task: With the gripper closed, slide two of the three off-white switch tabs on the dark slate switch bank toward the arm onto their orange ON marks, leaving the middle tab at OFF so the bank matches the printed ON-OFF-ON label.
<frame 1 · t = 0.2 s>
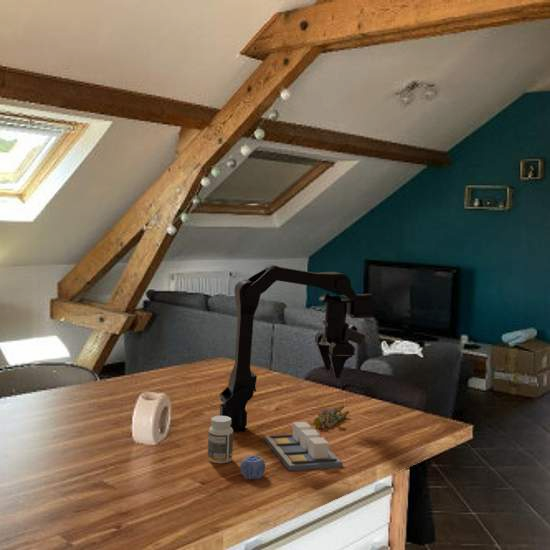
hand: (332, 374, 189), 14 cm above the kitchen island countertop, fingers open, 9 cm apart
dip bank: (301, 452, 167), on the kitchen island countertop
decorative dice: (252, 477, 151), on the kitchen island countertop
tab 2: (309, 439, 167), point 3 cm above the kitchen island countertop, slide at 0.0 cm
toy: (331, 423, 192), on the kitchen island countertop
tab 3: (301, 431, 173), point 3 cm above the kitchen island countertop, slide at 0.0 cm
tab 1: (318, 448, 161), point 3 cm above the kitchen island countertop, slide at 0.0 cm
pill bottle: (220, 460, 160), on the kitchen island countertop
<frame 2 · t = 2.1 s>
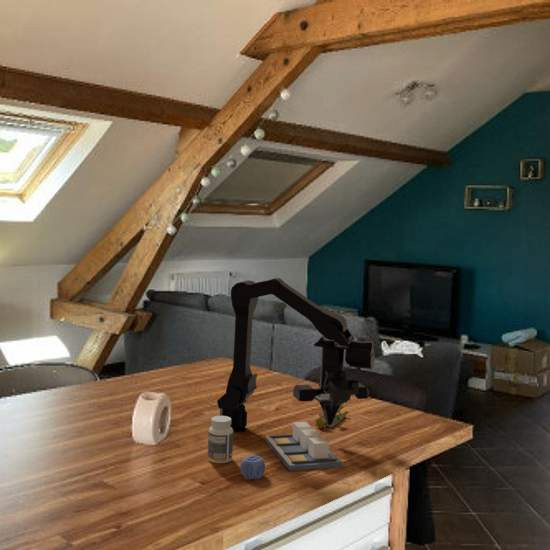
hand: (329, 424, 175), 5 cm above the kitchen island countertop, fingers closed
nothing on the kitchen island countertop moved.
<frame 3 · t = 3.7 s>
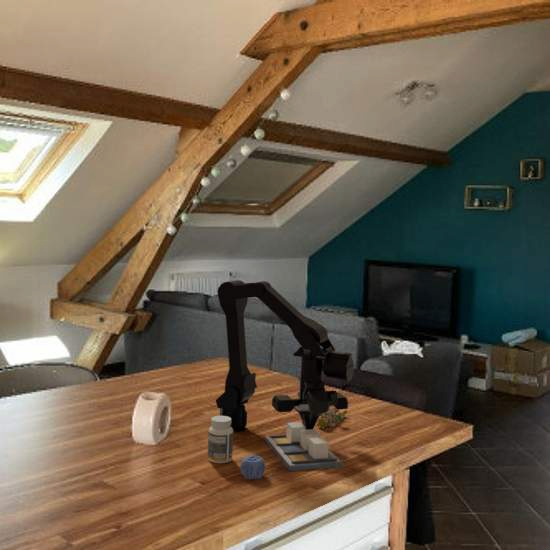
hand: (308, 435, 174), 2 cm above the kitchen island countertop, fingers closed
tab 3: (295, 432, 172), point 3 cm above the kitchen island countertop, slide at 1.6 cm, touching gripper
everything else where it was.
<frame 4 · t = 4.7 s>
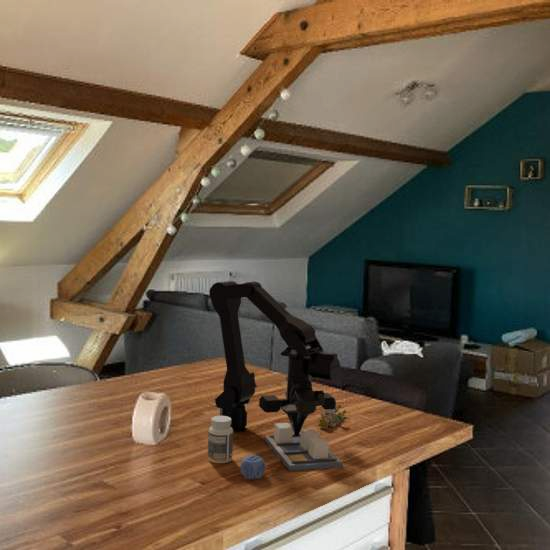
hand: (296, 435, 172), 2 cm above the kitchen island countertop, fingers closed
tab 3: (283, 432, 171), point 3 cm above the kitchen island countertop, slide at 4.9 cm, touching gripper
everything else where it was.
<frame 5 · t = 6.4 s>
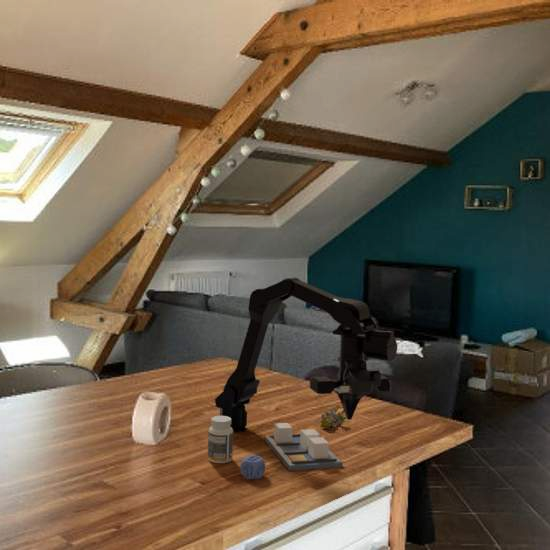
hand: (348, 419, 163), 10 cm above the kitchen island countertop, fingers closed
tab 3: (283, 432, 171), point 3 cm above the kitchen island countertop, slide at 4.9 cm
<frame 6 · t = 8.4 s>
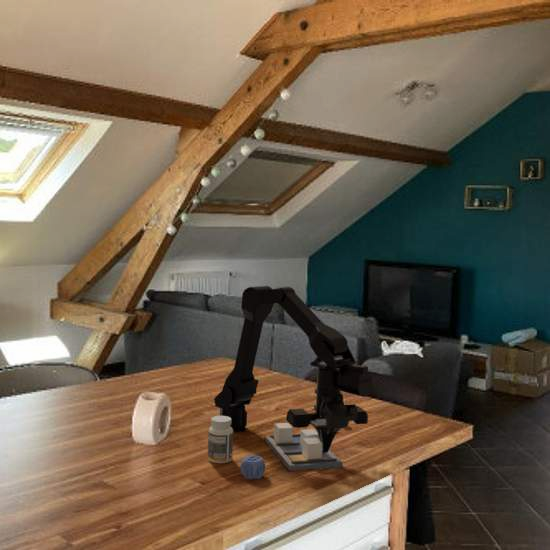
hand: (325, 451, 162), 2 cm above the kitchen island countertop, fingers closed
tab 1: (312, 448, 161), point 3 cm above the kitchen island countertop, slide at 1.6 cm, touching gripper
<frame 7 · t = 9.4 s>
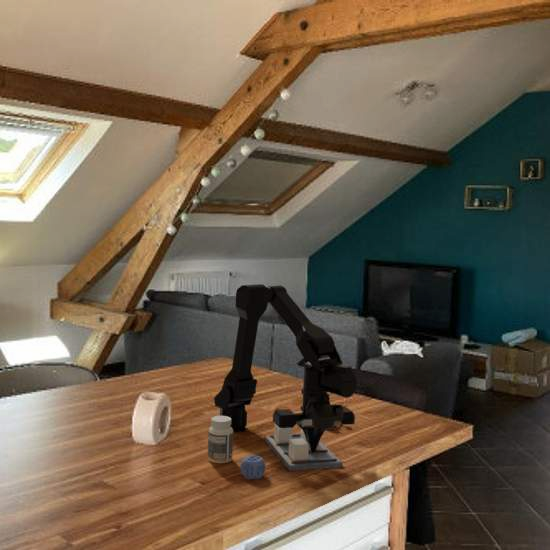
hand: (312, 452, 161), 2 cm above the kitchen island countertop, fingers closed
tab 1: (298, 449, 160), point 3 cm above the kitchen island countertop, slide at 4.9 cm, touching gripper
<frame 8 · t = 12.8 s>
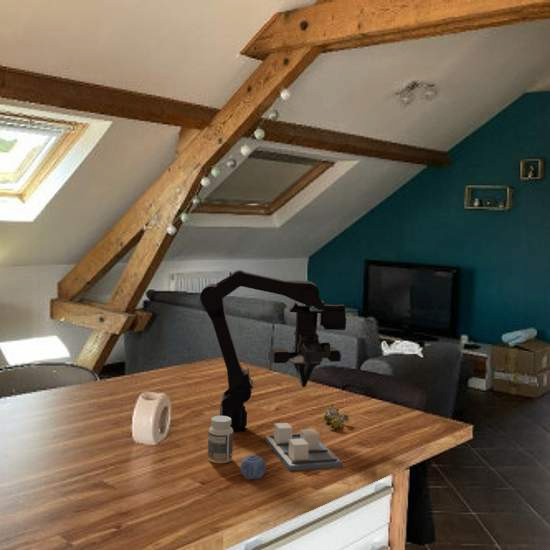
hand: (303, 386, 182), 12 cm above the kitchen island countertop, fingers closed
tab 1: (298, 449, 160), point 3 cm above the kitchen island countertop, slide at 4.9 cm
at the end: tab 1 slide at 4.9 cm; tab 3 slide at 4.9 cm; tab 2 slide at 0.0 cm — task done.
